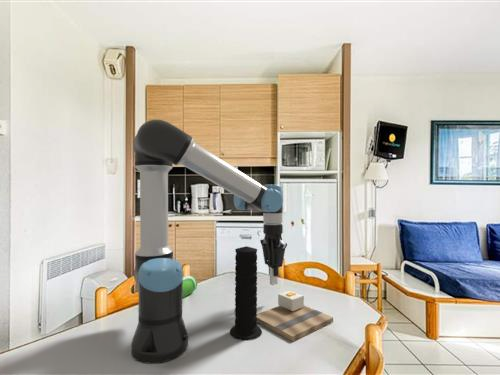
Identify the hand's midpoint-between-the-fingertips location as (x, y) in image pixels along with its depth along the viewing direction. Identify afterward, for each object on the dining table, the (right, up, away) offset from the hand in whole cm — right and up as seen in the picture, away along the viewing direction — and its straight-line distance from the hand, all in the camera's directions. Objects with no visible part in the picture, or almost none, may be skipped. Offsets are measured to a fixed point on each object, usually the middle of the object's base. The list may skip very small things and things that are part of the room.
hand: (273, 283), depth 109 cm
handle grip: (-11, -7, -23) cm, 26 cm away
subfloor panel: (+5, -7, -15) cm, 18 cm away
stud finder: (+6, -5, -8) cm, 11 cm away
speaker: (-39, -8, +5) cm, 40 cm away
